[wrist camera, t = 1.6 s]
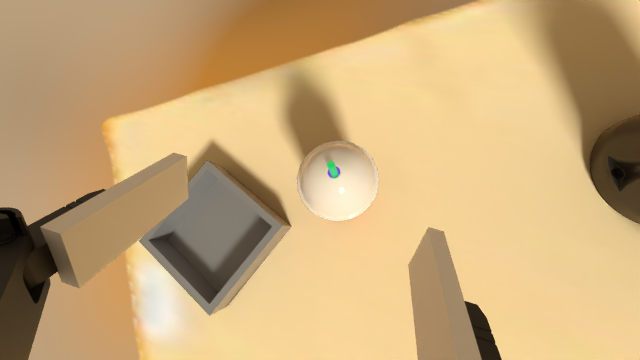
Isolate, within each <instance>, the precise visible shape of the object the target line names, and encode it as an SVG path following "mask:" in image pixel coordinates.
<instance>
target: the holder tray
mask: <svg viewBox="0 0 640 360" xmlns="http://www.w3.org/2000/svg"><path fill="white" fill-rule="evenodd" d="M188 195H189V198H188V199H187V200H186V201H185V202H183V203H182V204H181V205H180V206H179V207H177V208H176V209H175V210H174V211H173V212H171V213H170V214H169V215H168V216H166V217H165V218H164V219H163V220H162V221H160V222H159V223H158V224H157V225H156V226H154V227H153V228H152V229H151V230H150V231H148V232H147V233H146V234H145V235H144V236H143V237H142V238H141V239H140V241H139V242H140V243H141V244H142V245H143V246H144V247H145V248H146V249H147V250H148V251H149V252H150V253H151V254H152V255H153V256H154V257H155V259H156V260H157V261H158V262H159V263H160V264H161V265H162V266H163V267H164V268H165V269H166V270H167V271H168V272H169V273H170V274H171V276H172V277H173V278H174V279H175V280H176V281H177V282H178V283H179V284H180V285H181V286H182V287H183V288H184V289H185V290H186V291H187V292H188V294H189V295H190V296H191V297H192V298H193V299H194V300H195V301H196V302H197V303H198V304H199V305H200V306H201V307H202V308H203V309H204V310H205V312H206V313H207V314H208V315H209V316H210V315H212V314H214V313H216V312H217V311H219V310H221V309H223V308H225V307H227V306H228V305H229V303H230V302H231V301H232V300H233V299H234V297H235V296H236V295H237V294H238V292H239V291H240V290H241V289H242V287H243V286H244V285H245V284H246V282H247V281H248V280H249V279H250V277H251V276H252V275H253V274H254V272H255V271H256V270H257V269H258V267H259V266H260V265H261V264H262V262H263V261H264V260H265V259H266V258H267V256H268V255H269V254H270V253H271V251H272V250H273V249H274V248H275V246H276V245H277V244H278V243H279V241H280V240H281V239H282V238H283V236H284V235H285V234H286V233H287V231H288V230H289V229H290V228H291V226H290V225H289V224H288V223H287V222H286V221H284V220H283V219H282V218H281V217H280V216H279V215H277V214H276V213H275V212H274V211H273V210H272V209H270V208H269V207H268V206H267V205H266V204H265V203H263V202H262V201H261V200H260V199H259V198H258V197H257V196H255V195H254V194H253V193H252V192H251V191H250V190H248V189H247V188H246V187H245V186H244V185H243V184H241V183H240V182H239V181H238V180H237V179H236V178H234V177H233V176H232V175H231V174H230V173H229V172H228V171H226V170H225V169H224V168H222V167H220V166H218V165H216V164H214V163H212V162H210V161H208V160H207V161H206V162H205V164H204V165H203V166H202V167H201V168H200V170H199V171H198V172H197V173H196V174H195V175H194V177H193V178H192V179H191V180H190V181H189V183H188Z"/></svg>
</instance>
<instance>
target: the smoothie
mask: <svg viewBox="0 0 640 360" xmlns="http://www.w3.org/2000/svg"><path fill="white" fill-rule="evenodd" d="M297 184H298V192H299V194H300V197H301V199H302V202H303V203H304V204H305V205H306V207H307V208H308V209H309V210H310V211H311V212H312V213H314V214H316V215H317V216H319V217H321V218H323V219H327V220H331V221H342V220H349V219H351V218H353V217H356V216H358V215H360V214H361V213H362V212H364V211H365V210H366V209H367V208H368V207H369V206H370V205H371V203H372V201H373V200H374V198H375V196H376V194H377V189H378V184H379V178H378V169H377V167H376V165H375V163H374V161H373V159H372V157H371V156H370V155H369V154H368V153H367V152H366V151H365V150H364V149H363V148H361V147H359V146H357V145H355V144H353V143H351V142H345V141H332V142H326V143H324V144H322V145H320V146H317V147H316V148H314V149H313V150H312V151H311V152H310V153H309V154H308V155H306V157H305V159H304V160H303V162H302V164H301V165H300V168H299V172H298V176H297Z"/></svg>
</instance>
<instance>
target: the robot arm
mask: <svg viewBox="0 0 640 360" xmlns="http://www.w3.org/2000/svg"><path fill="white" fill-rule="evenodd" d="M590 165H591V174H592V177H593V181H594V183H595V185H596V187H597V189H598V191H599V193H600V194H601V196H602V197H603V198H604V199H605V201H606V202H607V203H608V204H609V205H610V206H611V207H612V208H614V209H615V210H616V211H617V212H619V213H620V214H622V215H623V216H625V217H626V218H628V219H630V220H632V221H634V222H636V223H639V224H640V115H636V116H634V117H631V118H629V119H627V120H624V121H622V122H620V123H617V124H615V125H614V126H612V127H610V128H609V129H608V130H606V131H605V132H604V133H603V134H602V135H601V136H600V138H599V139H598V140H597V142H596V144H595V146H594V148H593V151H592V154H591V162H590ZM188 198H189V195H188V172H187V156H183V155H180V154H177V153H172V154H171V155H169V156H167V157H165V158H163V159H162V160H160V161H158V162H156V163H154V164H153V165H151V166H149V167H147V168H145V169H143V170H142V171H140V172H138V173H136V174H134V175H133V176H131V177H129V178H127V179H125V180H124V181H122V182H120V183H118V184H116V185H115V186H113V187H111V188H109V189H108V190H104V189H102V190H99V191H96V192H92V193H89V194H87V195H85V196H83V197H81V198H79V199H77V200H76V202H72V203H70V204H68V205H66V207H62V208H61V209H59V210H57V211H55V212H53V213H51V214H49V215H47V216H45V217H44V218H42V219H40V220H38V221H36V222H34V223H32V224H30V225H29V226H27V225H26V222H25V220H24V218H23V215H22V213H21V212H20V211H19V210H18V209H14V208H0V360H28V358H29V354H30V351H31V347H32V344H33V341H34V338H35V334H36V331H37V328H38V324H39V321H40V318H41V314H42V311H43V308H44V304H45V301H46V298H47V294H48V290H49V287H50V278H49V277H51V276H52V275H53V274H55V273H56V272H58V273H59V276H60V278H61V281H62V282H63V283H66V284H69V285H72V286H75V287H78V288H81V287H82V286H83V285H84V284H86V283H87V282H88V281H89V280H90V279H91V278H93V277H94V276H95V275H96V274H98V273H99V272H100V271H101V270H102V269H104V268H105V267H106V266H107V265H108V264H110V263H111V262H112V261H113V260H114V259H116V258H117V257H118V256H119V255H121V254H122V253H123V252H124V251H125V250H127V249H128V248H129V247H130V246H131V245H133V244H134V243H135V242H136V241H137V240H139V239H140V238H141V237H142V236H144V235H145V234H146V233H147V232H148V231H150V230H151V229H152V228H153V227H154V226H156V225H157V224H158V223H159V222H160V221H162V220H163V219H164V218H165V217H166V216H168V215H169V214H170V213H171V212H173V211H174V210H175V209H176V208H177V207H179V206H180V205H181V204H182V203H183V202H185V201H186V200H187V199H188ZM408 266H409V276H410V286H411V296H412V306H413V316H414V325H415V335H416V345H417V355H418V360H502V359H501V357H500V354H499V351H498V348H497V346H496V345H495V340H494V337H493V334H491V329H490V326H489V323H488V320H487V318H486V316H485V315H484V314H483V312H482V311H481V309H480V308H479V307H478V305H476V304H473V303H470V302H466V301H464V298H463V295H462V292H461V288H460V285H459V282H458V278H457V275H456V271H455V268H454V265H453V261H452V258H451V255H450V251H449V248H448V245H447V241H446V238H445V235H444V232H443V231H440V230H436V229H433V228H429V227H428V229H427V231H426V233H425V235H424V237H423V238H422V240H421V242H420V244H419V246H418V248H417V250H416V252H415V254H414V256H413V258H412V260H411V262H410V263H409V265H408Z"/></svg>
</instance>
